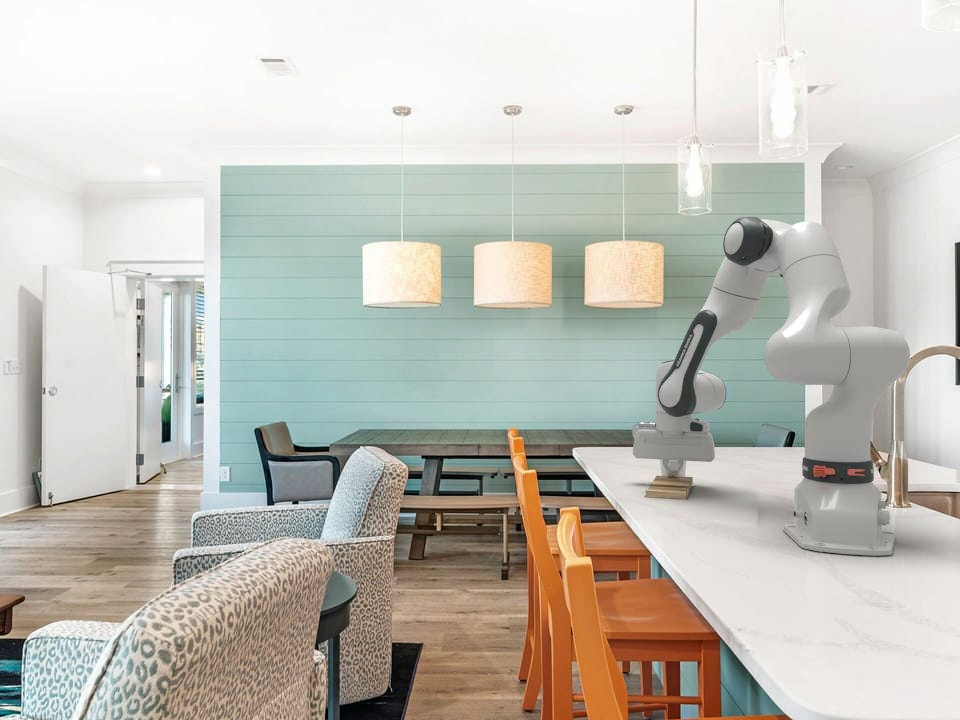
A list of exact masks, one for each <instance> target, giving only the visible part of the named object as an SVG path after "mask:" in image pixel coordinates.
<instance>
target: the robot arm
mask: <svg viewBox="0 0 960 720" xmlns="http://www.w3.org/2000/svg"><path fill="white" fill-rule="evenodd" d="M722 242H723V243H722V244H723V246H722V247H723V251H724V255H725V256H724V258H723V260H722V262H721V264H720V266H719V269H718V270H717V273H716V275H715V277H714V281H713V284H712V287H711V288H710V292H709V294H708V297H707V299H706V301H705V302H704V304H703V306H702V308H701V310H699V312H698V313H697V315H696V316H695V317H694V318H693V320H692V321H691V323H690V325H689V327H688V329H687V331H686V334H685V336H684V338H683V340H682V343H680V344H681V345H680V347H679V349H678V352H677V354H676V355H675V358H674V359H672V360H671V359H670V360H667V361H663V362H661V363H660V364H659V365H658V367H657V371H656V377H655V397H656V403H657V404H656V407H655V422H642V421H641V422H638V423H636V424H634V425H633V426H632V430H631V431H632V433H631V434H632V435H631V436H632V437H633V444H632V446H633V447H632V455H633V456H634V458H635V459H642V460H643V459H646V460H650V459H651V460H660V459H662V460H663V465H664V467H665V469H666V471H667V477H669V478H680V470H681V468H682V467H683V465H684V461H686V462H705V463H712V462H713V461H714V460H715V459H716V451H715V450H716V449H715V448H716V447H715V443H714V442H715V441H714V437H713V434H712V433H711V432H709V431H710V427H711V426H710V422H708V421H705V420H703V419H699V418H697V417H694V416H692V415H696V414H699V415H700V414H705V413H711V412H714V411H718V410H720V409H721V408H722V407H723V406H724V404H725V403H726V400H727V387H726V384H725V383H724V381H723V380H722V378H720V377H719V376H718V375H716V374H711V373H708V372H705V371H703V370H701V368H702V366H703V364H704V362H705V359H706V357H707V355H708V352H709V350H710V349H711V348H712V347H713V345H714V344H715V343H716V342H717V341H719V340H720V339H721V338H723V337H725V336H727V335H728V334H731V333H733V332H736V331H738V330H740V329H742V328H743V327H745V326H747V325H748V324H749V323H750V321H752V318H753V317H754V315H755V313H756V312H757V308H758V307H759V303H760V300H761V298H762V297H761V296H762V295H763V294H762V293H763V292H764V291H763V290H764V288H765V284H766V281H767V280H768V279H769V277H771V276H773V275H779V276H780V277H781V278H782V279H783V283H784V287H785V293H786V297H787V304H788V305H787V306H788V315H787V318H786V320H785V322H784V324H783V325H782V326H781V327H780V328H779V329H778V330H777V331H775V332H774V333H773V334H772V335H771V336H770V337H769V339H768V341H767V343H766V345H765V348H764V354H763V356H764V357H763V358H764V359H763V360H764V363H765V367H766V369H767V371H768V373H769V374H770V375H771V377H772V378H773V379H774V380H776V381H777V382H778V381H779V382H783V383H789V384H794V385H798V386H799V385H800V386H815V385H816V386H822V385H823V386H826V385H827V386H832V385H833V388H832V393H831V394H830V396H829V398H827V401H826V402H824V403H822V404H820V405H818V406H816V407H814V408H813V409H812V410H811V411H810V412H809V413H808V414H807V415H806V418H805V419H804V456H803V457H802V462H801V463H802V464H801V469H802V474H801V475H802V476H803V478H802V480H801V482H799V483H798V484H797V485H796V486H795V487H794V488H793V490H794V491H793V492H794V493H793V523H786V524H783V527H782V530H783V532H784V533H786V534H787V536H789V537H790V538H791V539H792V540H793V541H794V542H795V543H796V544H797V545H798V546H799V547H800V548H802V549H805V550H810V551H816V552H821V553H822V552H825V553H831V554H842V555H852V556H853V555H854V556H859V555H860V556H891V555H893V553H894V548H895V543H896V538H897V537H896V532H895V531H893V530H888V529H883V526H887V525H890V524H891V523H890V522H891V521H890V519H891V518H890V515H891V514H890V511H889V510H884V509H886V508H887V504H886V503H887V502H886V501H885V500H882V491H881V490H880V489H879V488H878V487H877V486H876V485H875V484H874V483H873V481H874V480H875V476H874V475H875V466H874V461H873V460H872V459H871V437H872V423H873V422H872V421H873V416H874V412H875V410H876V407H877V405H878V403H879V401H880V400H881V398H882V396H883V394H884V393H885V392H886V390H887V389H888V388H889V387H890V386H892V384H894V383H895V382H896V381H898V380H899V379H900V378H901V377H902V376H903V375H904V374H905V372H906V371H907V369H908V367H909V365H910V360H911V350H910V346H909V343H908V341H907V340H906V339H905V337H904V336H903V335H902V334H901V333H900V332H899V331H897V330H893V329H888V328H884V327H878V326H873V325H861V326H860V325H855V326H852V325H851V326H848V325H846V326H841V325H840V326H838V325H834V324H832V322H831V319H832V318H835V317H836V316H837V315H839V314H840V313H842V312H843V311H844V310H845V309H846V308H847V306H848V304H849V303H850V299H851V295H852V294H851V292H852V291H851V288H850V285H849V281H848V278H847V275H846V272H845V269H844V266H843V262H842V259H841V257H840V254H839V252H838V249H837V247H836V246H837V245H836V244H835V243H834V240H833V239H832V237H831V235H830V233H829V232H828V231H827V229H826V228H825V227H824V225H822V224H820V223H818V222H816V221H811V220H810V221H809V220H807V221H805V220H804V221H800V222H797V223H794V224H789V223H786V222H783V221H780V220H776V219H775V220H774V219H768V218H766V219H765V218H759V217H756V216H742V217H738V218H737V219H735V220H734V221H733V222H732V223H731V224H730V225H729V226H728V228H727V229H726V231H725V233H724V236H723V241H722ZM669 460H678V465H680V466H679V468H678V469H677V470H670V468H669V466H668V463H669Z"/></svg>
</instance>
